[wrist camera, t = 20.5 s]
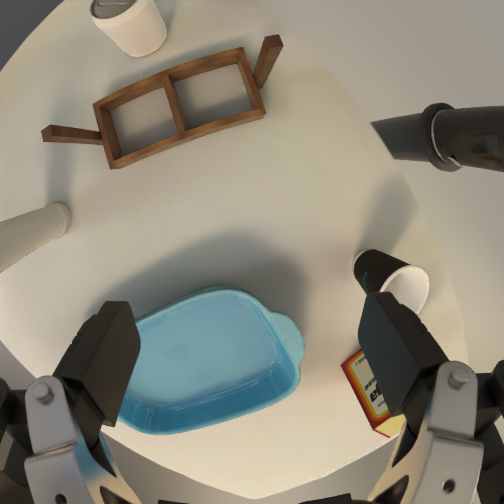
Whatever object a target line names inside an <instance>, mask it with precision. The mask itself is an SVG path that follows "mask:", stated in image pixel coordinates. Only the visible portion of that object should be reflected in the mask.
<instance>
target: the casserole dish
mask: <svg viewBox="0 0 504 504" xmlns="http://www.w3.org/2000/svg"><path fill="white" fill-rule="evenodd" d="M135 323H136V326H137V329H138V332H139V335H140V339H141V349H140V353H139V356H138V359H137V362H136V364H135V367H134V370H133V373H132V376H131V378H130V381H129V384H128V387H127V390H126V393H125V396H124V399H123V402H122V405H121V408H120V411H119V415H118V418H117V421H119V422H122V423H124V424H126V425H128V426H129V427H131V428H133V429H135V430H137V431H139V432H142V433H146V434H151V435H170V434H177V433H182V432H186V431H191V430H195V429H199V428H203V427H207V426H210V425H214V424H217V423H221V422H224V421H228V420H231V419H234V418H238V417H241V416H244V415H247V414H250V413H253V412H255V411H258V410H261V409H263V408H266V407H268V406H270V405H273V404H275V403H277V402H279V401H281V400H282V399H284V398H286V397H287V396H288V395H290V394H291V393H292V392H293V391H294V390H295V389H296V387H297V386H298V384H299V381H300V367H299V365H300V361H301V359H302V357H303V354H304V350H305V343H304V340H303V337H302V335H301V333H300V331H299V329H298V327H297V326H296V324H295V323H294V321H293V320H292V319H291V318H290V317H289V316H287V315H286V314H283V313H280V312H275V311H270V310H268V309H267V308H266V307H265V306H264V305H263V304H262V303H261V302H260V301H259V300H258V299H257V298H256V297H254V296H253V295H252V294H251V293H249V292H248V291H246V290H244V289H242V288H239V287H235V286H230V285H221V286H214V287H209V288H205V289H202V290H199V291H196V292H194V293H191V294H189V295H187V296H184V297H182V298H180V299H178V300H176V301H173V302H171V303H169V304H167V305H165V306H163V307H161V308H159V309H157V310H155V311H153V312H151V313H149V314H147V315H145V316H143V317H141V318H139V319H137V320H135Z"/></svg>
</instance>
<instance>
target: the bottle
mask: <svg viewBox="0 0 504 504" xmlns="http://www.w3.org/2000/svg"><path fill="white" fill-rule="evenodd" d="M70 225H71V214H70V212H69V210H68V208H67V207H66V206H65V205H64V204H61V203H58V202H57V203H50V204H48V205H47V206H45V207H44V208H41V209H38V210H35V211H31V212H28V213H25V214H22V215H19V216H17V217H14V218H11V219H8V220H5V221H2V222H0V273H2V272H3V271H5V270H6V269H7V268H9V267H10V266H12V265H13V264H15V263H16V262H18V261H19V260H21V259H22V258H24V257H25V256H27V255H28V254H30V253H31V252H33V251H35V250H36V249H38V248H39V247H41V246H43V245H44V244H46V243H48V242H49V241H51V240H53V239H57V238H60V237H61V236H63V235H64V234H66V233H67V231H68V229H69V228H70Z"/></svg>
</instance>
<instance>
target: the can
mask: <svg viewBox="0 0 504 504" xmlns="http://www.w3.org/2000/svg"><path fill="white" fill-rule="evenodd" d="M90 12H91V15H92V17H93V21H94V23H95V24H96V25H97V26H98V27H99V28H100V29H101V30H102V31H103V32H104V33H105V34H106V35H107V36H108V37H109V38H110V39H111V40H112V41H114V42H115V43H116V44H117V45H118V46H119V47H120V48H121V49H122V50H123V51H124V52H125V53H126V54H128V55H130V56H133V57H142V56H146V55H149V54H151V53H153V52H155V51H156V50H157V49H159V48H160V47H161V46H162V44H163V43H164V41H165V40H166V37H167V28H166V25H165V23H164V21H163V19H162V17H161V15H160V13H159V11H158V9H157V7H156V5H155V3H154V1H153V0H93V1H92V3H91V7H90Z"/></svg>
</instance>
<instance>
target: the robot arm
mask: <svg viewBox="0 0 504 504" xmlns="http://www.w3.org/2000/svg"><path fill="white" fill-rule="evenodd" d="M430 136H431V141H432V145H433V148H434V150H435V152H436V154H437V155H438V157H439V158H440V159H441V160H442V161H443V162H445V163H447V164H451V165H457V166H459V167H462V168H464V167H463V166H470V167H477V168H484V169H489V170H495V171H500V172H504V106H487V107H473V108H462V109H451V110H440V111H438V112H437V113H436V114H435V115H434V116H433V118H432V121H431V126H430ZM462 165H463V166H462ZM421 322H422V321H421V320H420V319H419V317H418V316H417V315H416V314H415V312H414V311H412V310H411V309H410V308H408V307H407V306H405V305H404V304H400V303H399V302H398V301H397V299H396V298H395V297H394V295H393V294H392V293H391V292H390V291H384V292H374V293H369V294H368V295H367V296H366V299H365V304H364V308H363V312H362V316H361V320H360V324H359V328H358V340H359V344H360V346H361V349H362V351H363V353H364V355H365V357H366V359H367V362H368V364H369V366H370V368H371V371H372V373H373V375H374V377H375V380H376V382H377V384H378V387H379V389H380V391H381V394H382V396H383V398H384V401H385V403H386V405H387V408H388V410H389V413H390V415H391V418H392V417H396V416H399V415H402V414H404V416H405V418H406V420H405V422H404V423H403V426H402V429H401V432H400V434H399V437H398V440H397V443H396V445H395V448H394V451H393V453H392V456H391V458H390V461H389V463H388V465H387V468H386V470H385V472H384V473H383V475H382V477H381V478H380V479H379V481H378V482H377V483H376V485H375V487H374V488H373V490H372V491H371V493H370V495H369V497H368V499H367V501H366V500H352V499H351V495H350V493H348V494H343V495H338V496H334V497H329V498H324V499H318V500H312V501H306V502H302V503H299V504H472V503H473V500H474V496H475V492H476V488H477V492H478V495H479V499H480V502H481V504H504V444H503V442H502V439H501V437H500V435H499V433H498V430H497V428H496V426H495V424H494V422H495V421H496V420H497V419H498V418H499V417H500V416H501V415H502V416H503V418H504V360H501V361H499V362H498V364H497V365H496V367H495V368H494V370H493V371H492V373H477V374H475V373H474V371H473V370H472V369H471V368H470V367H469V366H468V365H466V364H464V363H462V362H459V361H449V359H448V358H447V356H446V355H445V353H444V352H443V350H442V349H441V348H440V346H439V345H438V343H437V342H436V341H435V339H434V338H433V336H432V335H431V334H430V332H428V331H427V328H426V327H425V325H424V324H422V323H421ZM140 349H141V339H140V335H139V332H138V329H137V326H136V323H135V320H134V317H133V314H132V310H131V307H130V305H129V303H128V302H127V301H106V302H105V303H104V304H103V306H102V307H101V309H100V310H99V312H98V313H97V315H95V314H94V315H93V316H92V317H91V318H89V319H88V320H87V321H86V322H84V323H83V325H82V326H81V328H80V330H79V331H78V333H77V336H75V338H74V339H73V341H72V344H70V346H69V347H68V349H67V351H66V352H65V354H64V356H63V357H62V359H61V361H60V362H59V364H58V366H57V368H56V369H55V371H54V373H53V375H52V376H42V377H39V378H37V379H36V380H34V381H33V382H32V383H31V384H30V385H29V387H28V388H27V390H11V389H10V387H9V386H8V385H7V383H6V382H5V381H4V380H3V379H2V378H0V443H1V441H2V438H3V435H4V432H6V433H7V434H8V435H9V436H10V437H11V438H12V439H13V443H12V446H11V449H10V452H9V455H8V458H7V461H6V464H5V467H4V469H3V470H2V471H0V504H142V503H141V502H140V500H139V499H138V497H137V496H136V495H135V493H134V492H133V491H132V490H131V489H130V487H129V486H128V485H127V484H126V483H125V481H124V480H123V478H122V476H121V474H120V472H119V470H118V468H117V466H116V464H115V462H114V460H113V458H112V456H111V454H110V452H109V450H108V447H107V445H106V443H105V441H104V438H103V436H102V434H101V433H100V429H101V426H102V425H106V426H111V427H115V424H116V421H117V418H118V415H119V411H120V408H121V405H122V402H123V399H124V396H125V393H126V390H127V387H128V384H129V381H130V378H131V376H132V373H133V370H134V367H135V364H136V362H137V359H138V356H139V353H140ZM158 504H187V503H178V502H171V501H165V500H158Z"/></svg>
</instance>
